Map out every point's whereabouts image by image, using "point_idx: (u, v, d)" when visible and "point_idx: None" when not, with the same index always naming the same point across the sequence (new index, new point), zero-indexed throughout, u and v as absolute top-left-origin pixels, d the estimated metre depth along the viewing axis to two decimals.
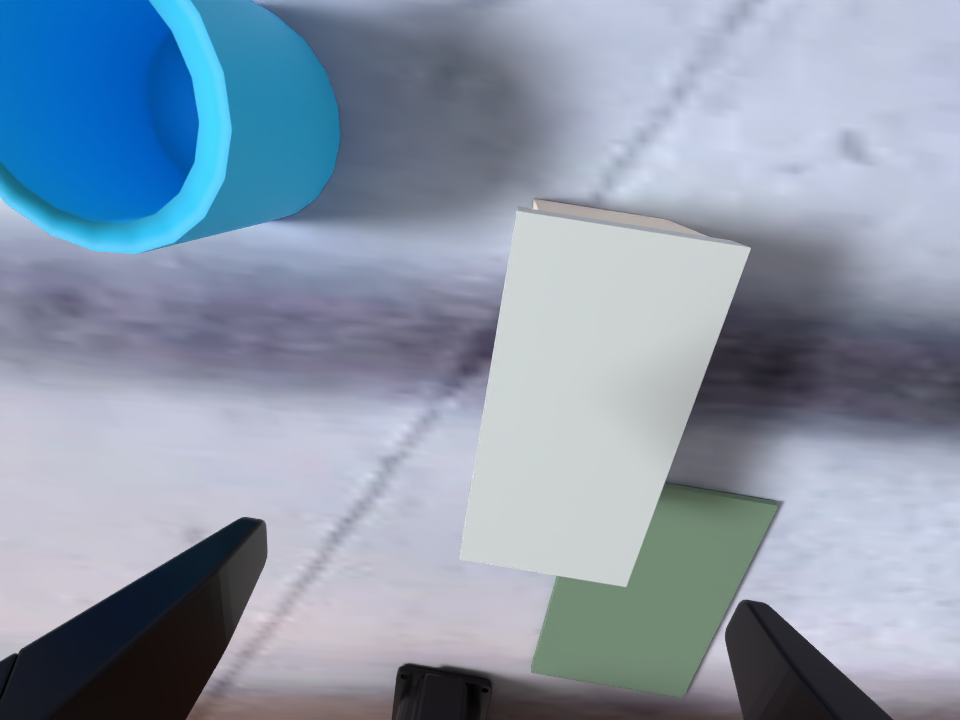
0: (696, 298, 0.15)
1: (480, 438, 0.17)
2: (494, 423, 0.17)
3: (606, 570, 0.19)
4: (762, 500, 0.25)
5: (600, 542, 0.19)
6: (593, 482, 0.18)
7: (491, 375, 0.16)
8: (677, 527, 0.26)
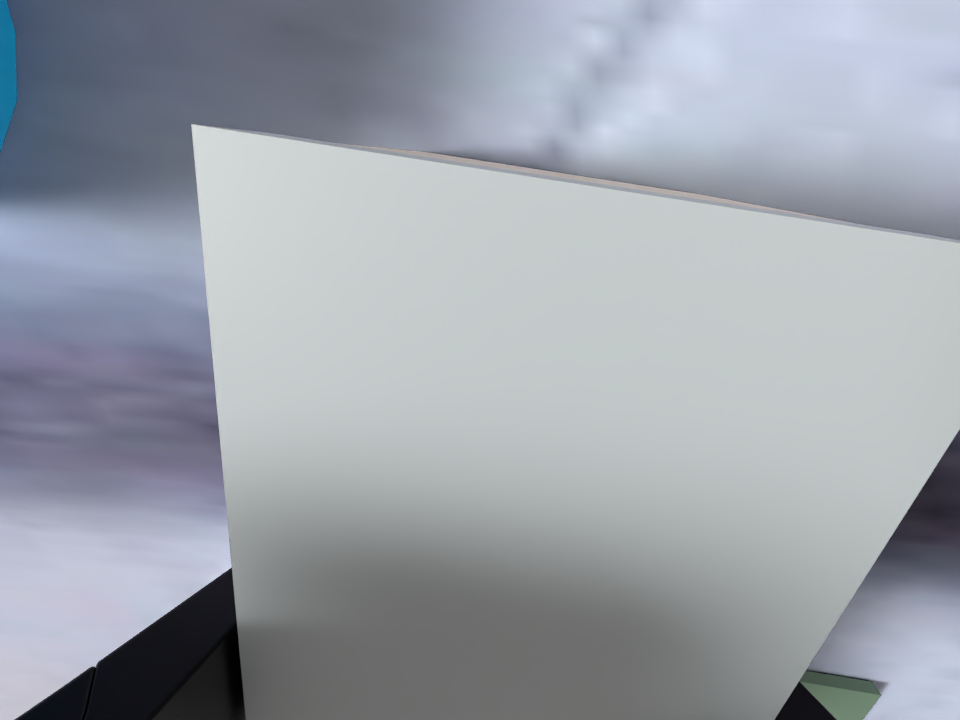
0: (834, 425, 0.04)
1: None
2: (274, 702, 0.07)
3: None
4: (852, 683, 0.14)
5: None
6: None
7: (239, 604, 0.06)
8: None
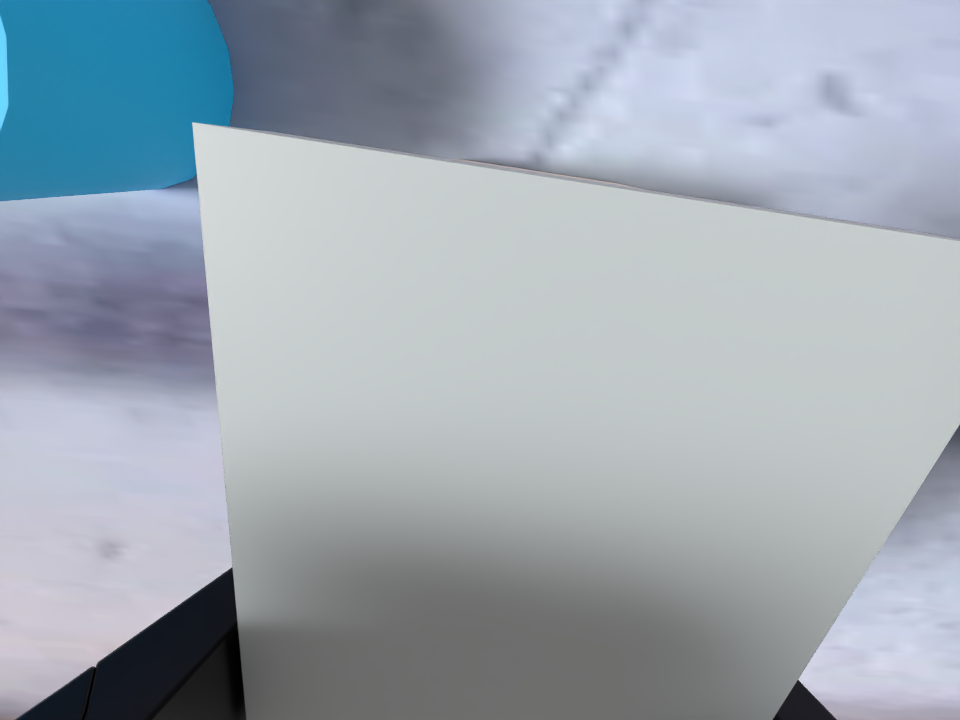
0: (834, 423, 0.04)
1: None
2: (275, 700, 0.07)
3: None
4: None
5: None
6: None
7: (240, 602, 0.06)
8: None
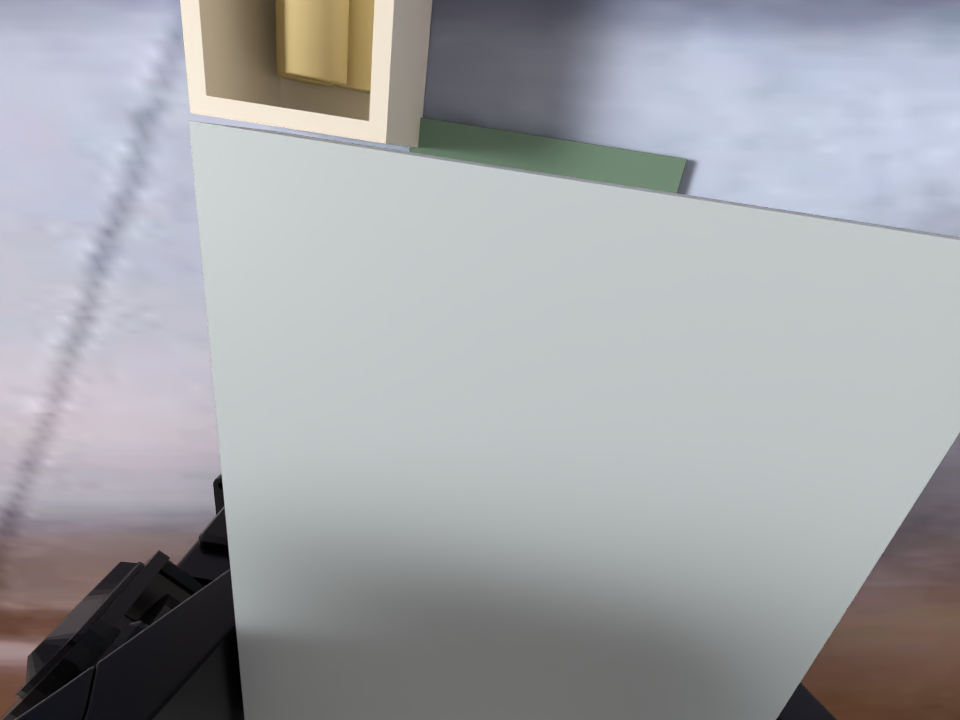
0: (836, 424, 0.04)
1: None
2: (273, 703, 0.07)
3: None
4: None
5: None
6: None
7: (238, 605, 0.06)
8: None
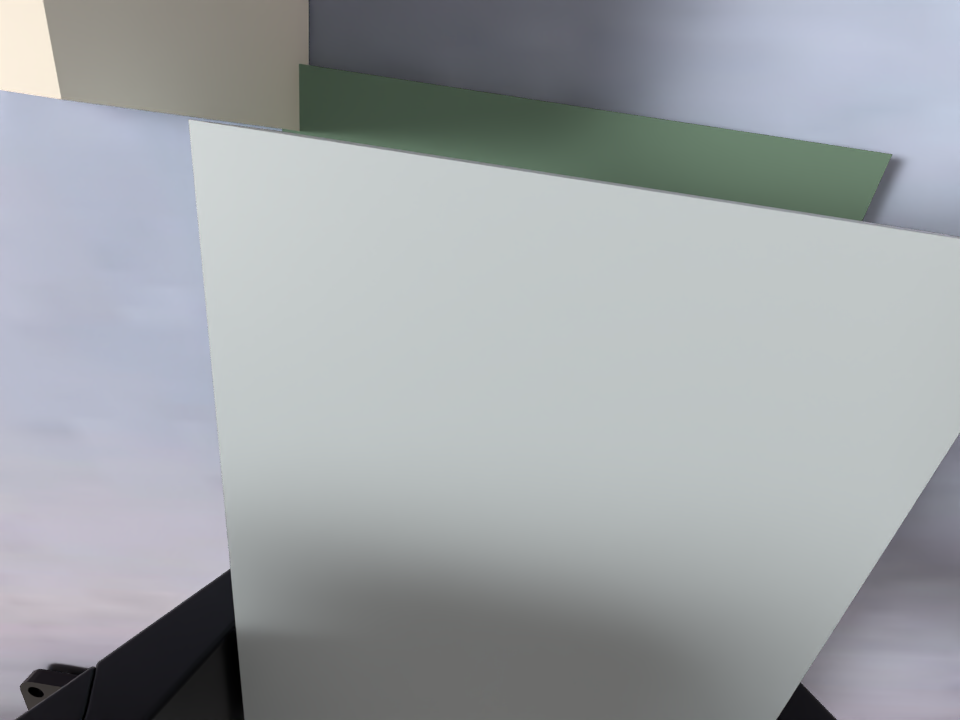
0: (838, 424, 0.04)
1: None
2: (273, 702, 0.07)
3: None
4: None
5: None
6: None
7: (238, 604, 0.06)
8: None
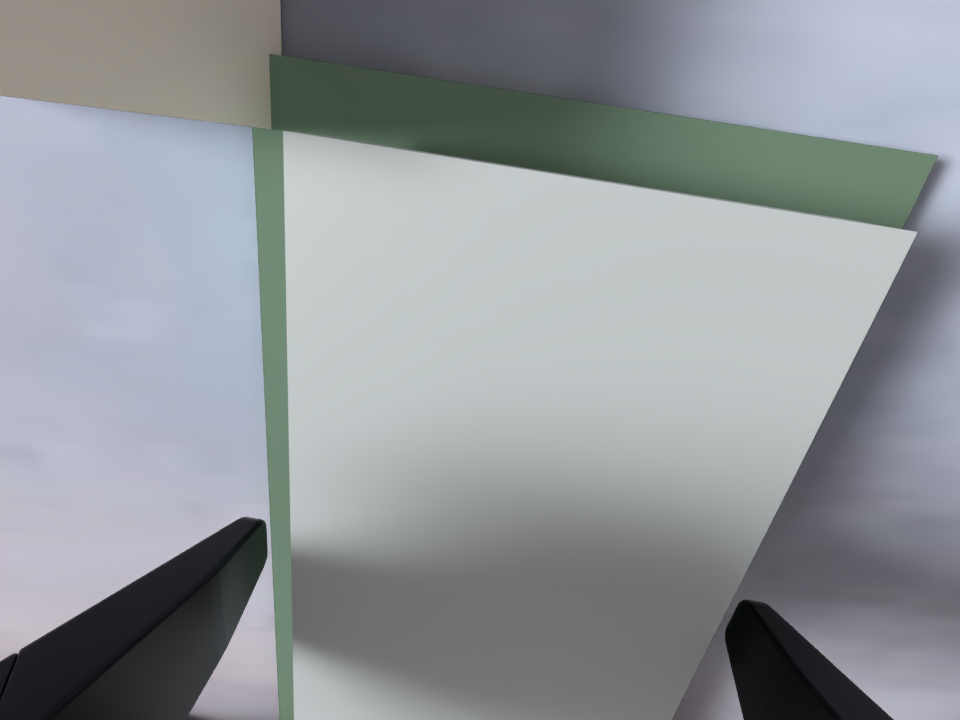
0: (759, 360, 0.06)
1: (294, 629, 0.08)
2: (317, 605, 0.08)
3: None
4: None
5: None
6: (529, 710, 0.09)
7: (293, 516, 0.07)
8: None
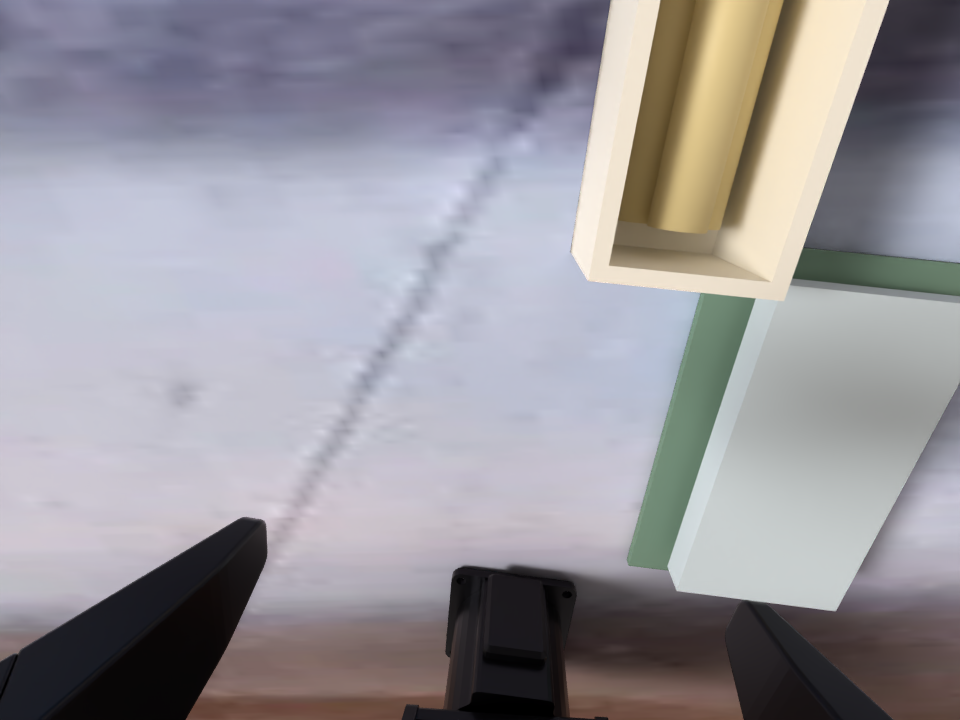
0: (942, 352, 0.16)
1: (715, 482, 0.19)
2: (731, 468, 0.19)
3: (818, 596, 0.21)
4: None
5: (816, 571, 0.20)
6: (818, 517, 0.19)
7: (735, 426, 0.18)
8: None
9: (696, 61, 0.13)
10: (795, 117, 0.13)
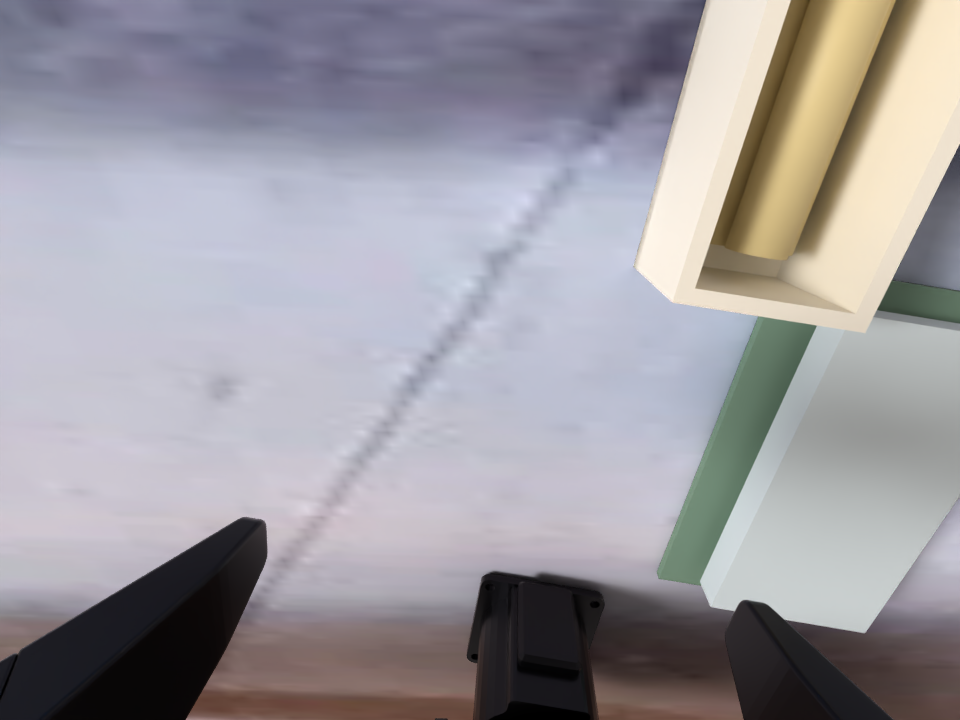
0: None
1: (762, 503, 0.19)
2: (779, 490, 0.19)
3: (850, 618, 0.21)
4: None
5: (851, 594, 0.20)
6: (859, 542, 0.19)
7: (788, 449, 0.18)
8: None
9: (798, 89, 0.13)
10: (890, 151, 0.13)
